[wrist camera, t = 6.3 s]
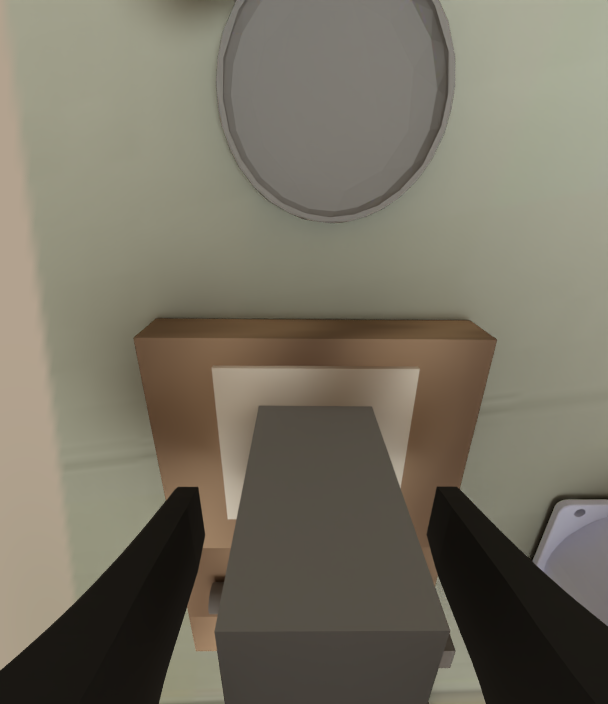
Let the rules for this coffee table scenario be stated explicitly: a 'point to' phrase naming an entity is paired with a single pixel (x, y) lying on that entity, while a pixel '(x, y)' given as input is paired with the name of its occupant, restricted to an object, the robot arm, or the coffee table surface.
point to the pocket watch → (335, 99)
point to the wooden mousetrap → (306, 390)
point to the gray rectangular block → (326, 570)
